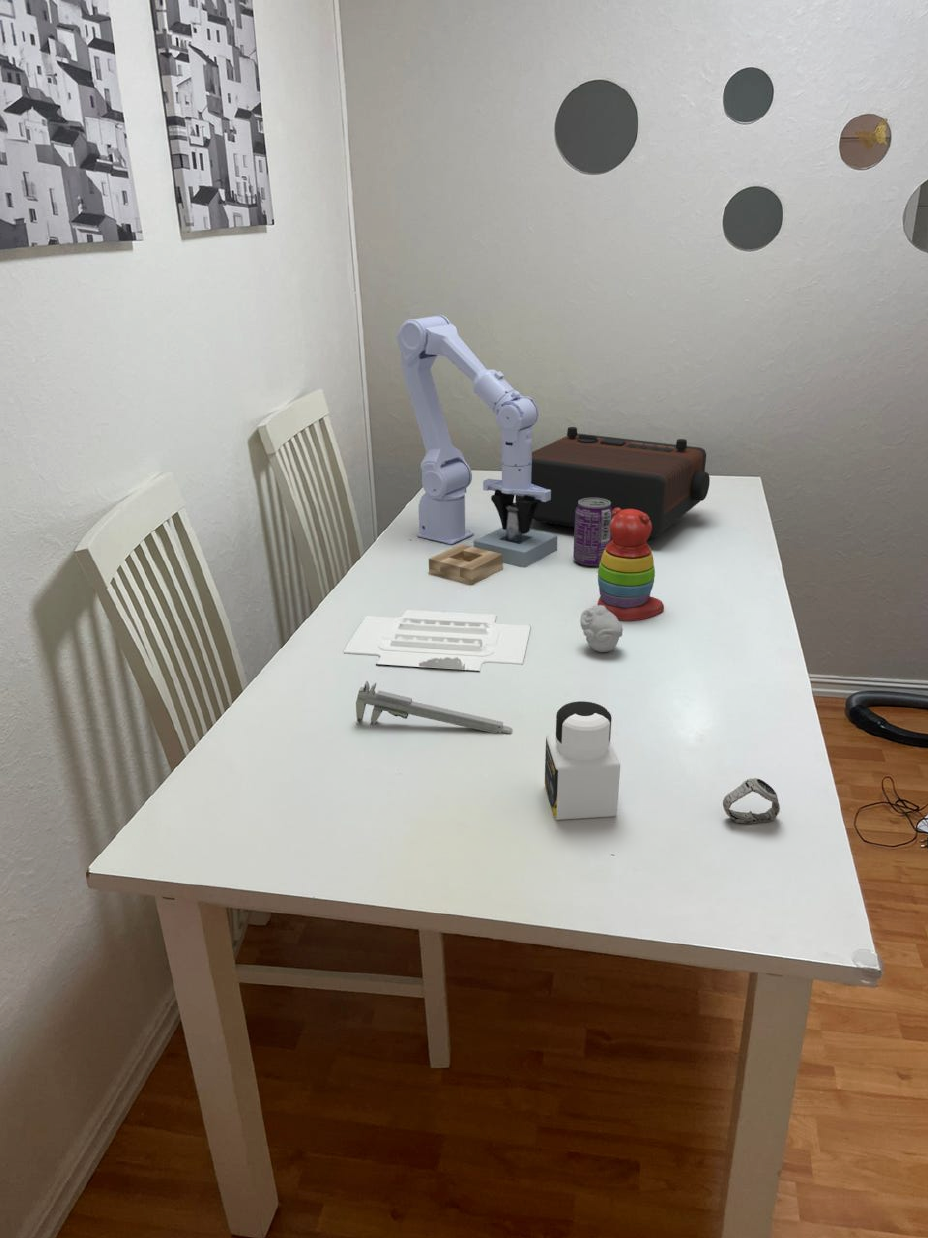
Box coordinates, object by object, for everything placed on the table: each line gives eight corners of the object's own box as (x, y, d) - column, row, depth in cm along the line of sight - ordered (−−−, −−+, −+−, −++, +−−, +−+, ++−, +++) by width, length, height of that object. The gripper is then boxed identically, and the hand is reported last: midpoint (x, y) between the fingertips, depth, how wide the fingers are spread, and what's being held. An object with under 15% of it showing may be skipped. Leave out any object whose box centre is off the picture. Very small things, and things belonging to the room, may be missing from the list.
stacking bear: (668, 609, 153) (677, 508, 145) (635, 627, 146) (643, 523, 139) (615, 593, 159) (621, 496, 152) (581, 610, 153) (586, 509, 145)
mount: (429, 573, 169) (428, 558, 168) (460, 558, 176) (460, 543, 175) (471, 585, 164) (471, 569, 162) (502, 568, 171) (502, 554, 170)
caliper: (357, 725, 120) (353, 683, 117) (359, 721, 121) (356, 679, 118) (511, 736, 117) (512, 693, 114) (512, 731, 118) (513, 689, 115)
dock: (473, 555, 178) (473, 540, 177) (507, 538, 187) (507, 524, 186) (524, 567, 171) (524, 552, 170) (557, 549, 180) (557, 535, 179)
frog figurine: (594, 637, 143) (596, 596, 140) (630, 650, 139) (633, 609, 136) (570, 649, 139) (572, 607, 136) (606, 663, 135) (609, 621, 132)
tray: (370, 613, 154) (370, 593, 153) (532, 627, 151) (533, 607, 149) (337, 667, 136) (336, 645, 134) (520, 685, 132) (522, 663, 131)
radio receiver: (711, 518, 198) (720, 437, 190) (669, 555, 177) (677, 465, 170) (567, 496, 215) (570, 421, 207) (513, 527, 194) (514, 445, 186)
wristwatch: (782, 827, 99) (788, 789, 96) (727, 830, 98) (732, 792, 96) (769, 808, 102) (775, 771, 100) (716, 811, 101) (721, 774, 99)
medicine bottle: (544, 784, 106) (546, 696, 101) (603, 781, 107) (608, 692, 102) (554, 821, 100) (557, 729, 95) (617, 817, 100) (624, 725, 95)
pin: (499, 544, 177) (501, 504, 175) (510, 540, 180) (513, 501, 178) (516, 548, 175) (518, 508, 172) (527, 544, 178) (530, 505, 175)
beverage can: (609, 555, 177) (612, 497, 172) (610, 568, 170) (614, 508, 165) (572, 554, 177) (575, 496, 172) (573, 567, 171) (575, 507, 166)
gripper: (473, 461, 173) (474, 529, 178) (537, 473, 165) (536, 542, 170) (494, 454, 178) (494, 519, 183) (557, 464, 170) (555, 532, 175)
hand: (515, 530), depth 177 cm, fingers closed on pin, 4 cm apart
